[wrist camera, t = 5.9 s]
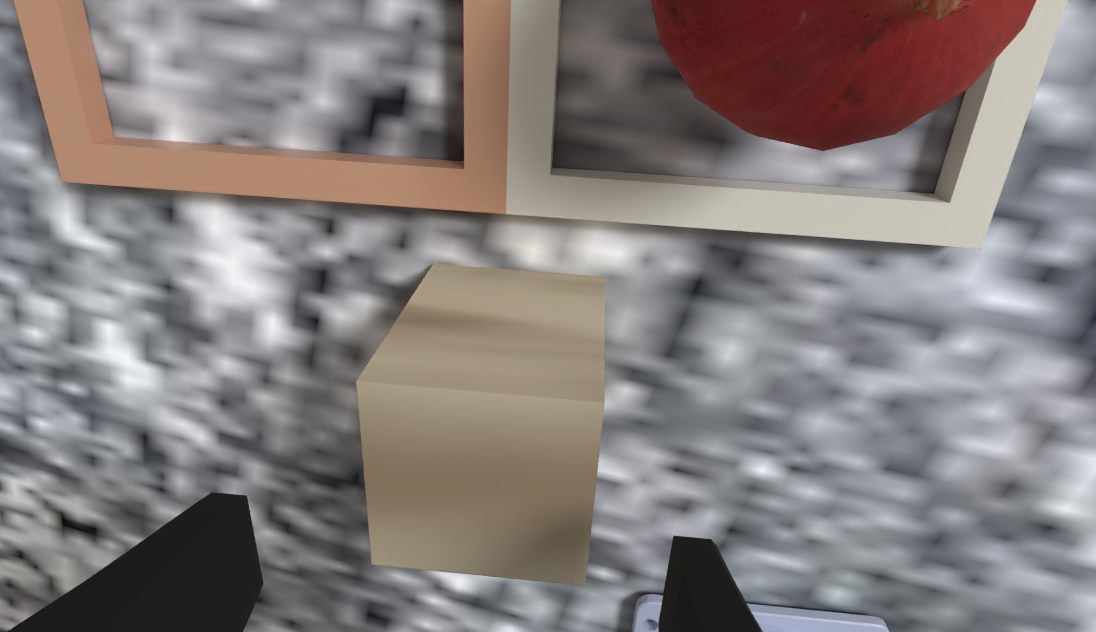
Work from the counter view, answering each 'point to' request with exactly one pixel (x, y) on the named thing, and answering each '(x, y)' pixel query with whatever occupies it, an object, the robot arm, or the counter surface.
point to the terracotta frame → (101, 158)
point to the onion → (833, 60)
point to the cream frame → (764, 206)
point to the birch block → (486, 425)
